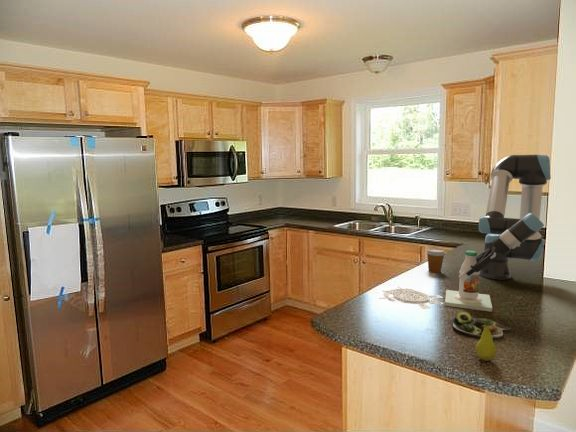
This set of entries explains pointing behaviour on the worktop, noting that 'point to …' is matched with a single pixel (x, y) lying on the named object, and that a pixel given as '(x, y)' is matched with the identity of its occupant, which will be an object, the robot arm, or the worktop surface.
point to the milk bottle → (471, 284)
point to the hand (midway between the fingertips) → (460, 276)
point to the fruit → (486, 345)
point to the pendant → (411, 296)
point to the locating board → (468, 301)
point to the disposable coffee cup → (435, 260)
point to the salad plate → (476, 325)
